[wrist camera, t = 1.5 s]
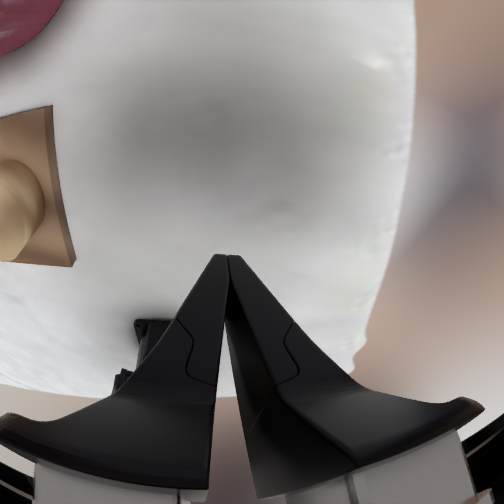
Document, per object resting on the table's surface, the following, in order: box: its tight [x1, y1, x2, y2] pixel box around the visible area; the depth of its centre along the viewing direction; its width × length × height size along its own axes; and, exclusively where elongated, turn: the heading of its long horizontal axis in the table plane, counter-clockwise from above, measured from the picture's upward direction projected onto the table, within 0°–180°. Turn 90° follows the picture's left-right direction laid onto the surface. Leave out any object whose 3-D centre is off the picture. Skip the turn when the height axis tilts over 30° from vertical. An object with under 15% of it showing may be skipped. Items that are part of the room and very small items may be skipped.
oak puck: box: [0, 160, 45, 262], centre depth 15 cm, size 7×7×4 cm
